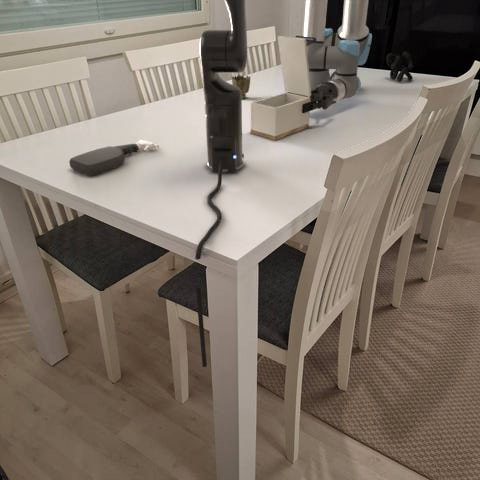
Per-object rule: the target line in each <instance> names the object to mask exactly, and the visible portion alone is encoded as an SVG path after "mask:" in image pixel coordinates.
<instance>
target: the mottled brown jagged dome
mask: <svg viewBox="0 0 480 480" xmlns="http://www.w3.org/2000/svg"><path fill="white" fill-rule="evenodd" d="M251 78H252V77H251V76H248V75H246V76H244V75H243V74H242V75H239V74H238V75H237V76H236V75H234V76H231V84H232V85H234V86H236V87H238V88H239V89H240V90H241V94H242V99H245V98H246V96H247V95H246V94H248V93H249V91H250V85H251Z"/></svg>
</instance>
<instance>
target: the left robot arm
mask: <svg viewBox="0 0 480 480" xmlns="http://www.w3.org/2000/svg"><path fill="white" fill-rule="evenodd" d="M223 3H224V5H225V7H226V11H227V12H228V16H229V20H230V21H229V22H230V26H231V29H207V30H204V31H203V32H202V33H201V35H200V38H199V58H200V61H199V62H200V68H201V77H202V78H201V79H202V91H203V98H204V100H203V101H204V116H205V117H204V118H205V133H206V134H205V135H206V151H207V152H206V153H207V168H208V169H209V170H211V172H212V173H217V176H218V177H217V183H216V186H215V188H214V189H213V190H212V191H211V192H210V193H209V194H208V196H207V197H206V198H207V205H209V206H210V208H212V210H213V211H214V212H215V213H216V216H217V218H216V220H215V222H214V223H213V224H212V225H211V227H210V228H209V229H208V230H207V232H206V234H205V235H204V236H203V237H202V238H201V239H200V241H199V242H198V245H197V246H196V247H197V248H196V251H195V256H194V257H195V259H194V260H197V261H198V260H200V259H201V255H202V250H203V247H204V245H205V243H206V242H207V241H208V240H209V239H210V237H211V235H212V234H213V233H214V231H215V230H216V229H217V228H218V226H219V225H220V223H221V222H222V218H223V217H222V212H221V210H220V209H219V208H218V207H217V205H215V204H214V202H213V201H212V198H213V197H214V196H215V195H216V194H217V193H218V192H219V190H220V188H221V186H222V181H223V180H222V179H223V173H237V171H239V170H240V169H242V168H243V166H244V160H243V159H245V154H244V153H243V114H242V113H243V109H242V108H243V106H242V105H243V104H242V103H243V102H242V101H243V100H242V99H243V98H242V94H241V90H240V89H239V88H238V87H236V86H234V85H232V83H229V82H227V81H225V80H224V79H223V78H222V77H221V76H220V75H219V73H220V74H241V73H243V72H244V71H245V70H246V68H247V63H248V34H247V33H248V32H247V31H248V30H247V9H246V0H223ZM202 295H203V294H202V288H200V287H198V286H196V300H197V301H196V305H197V306H196V307H197V317H198V319H197V320H198V331H199V340H200V351H201V365H202V367H203V368H207V367H208V364H207V350H206V338H205V327H204V315H203V298H202V297H203V296H202Z"/></svg>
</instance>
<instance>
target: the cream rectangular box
mask: <svg viewBox="0 0 480 480" xmlns="http://www.w3.org/2000/svg"><path fill="white" fill-rule="evenodd" d="M308 102H311V101H310V97H309V96H308V97H305V96H301V95H296V94H291V93H286V92H285V91H284V92H283V93H279V94H276V95H272V96H269V97H265V98H262V99H259V100H255V101H251V102H250V134H252V135H256V136H259V137H263V138H266V139H269V140H272V141H278V140H280V139H282V138H284V137H287V136H290V135H293V134H296V133H297V132H300V131H304V130H305V129H308V128H310V127H309V126H310V112H311V111H309V112H306V113H302V105H303V104H305V103H308Z"/></svg>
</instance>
